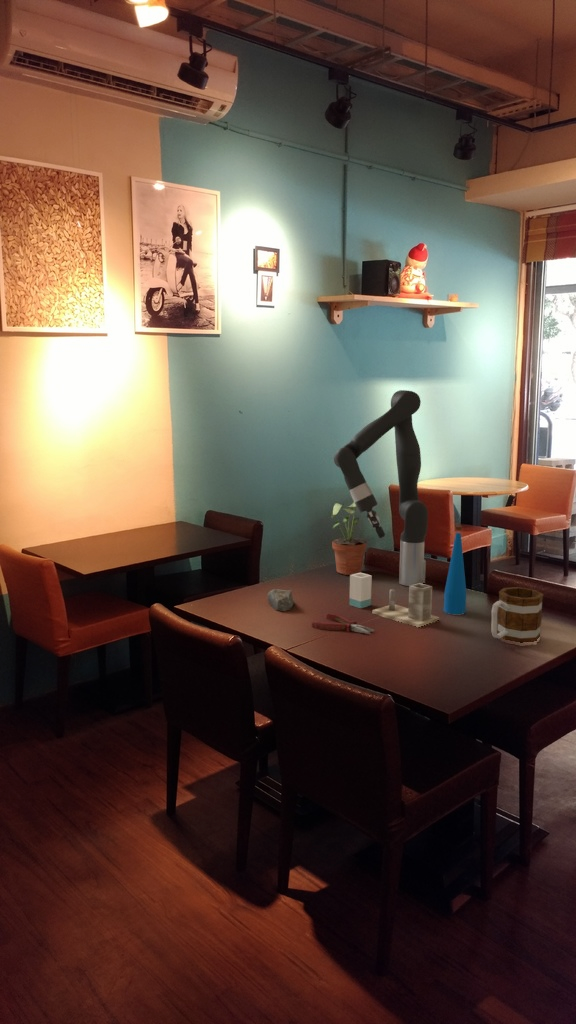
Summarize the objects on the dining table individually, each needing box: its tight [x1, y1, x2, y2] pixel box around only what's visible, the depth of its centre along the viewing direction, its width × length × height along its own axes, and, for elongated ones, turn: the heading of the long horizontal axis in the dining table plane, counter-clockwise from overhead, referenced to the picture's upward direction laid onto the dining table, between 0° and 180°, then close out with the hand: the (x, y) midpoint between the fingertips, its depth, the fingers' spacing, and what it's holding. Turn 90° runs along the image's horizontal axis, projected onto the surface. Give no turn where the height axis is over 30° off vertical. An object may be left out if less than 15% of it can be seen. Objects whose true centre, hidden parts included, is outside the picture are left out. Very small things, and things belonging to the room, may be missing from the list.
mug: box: [490, 586, 545, 643], centre depth 243 cm, size 20×14×15 cm
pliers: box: [311, 613, 376, 635], centre depth 255 cm, size 12×20×3 cm, turn 55°
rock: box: [266, 588, 295, 612], centre depth 278 cm, size 13×9×6 cm, turn 19°
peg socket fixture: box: [371, 583, 440, 628], centre depth 265 cm, size 20×11×12 cm, turn 43°
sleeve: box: [348, 572, 373, 609], centre depth 278 cm, size 5×5×11 cm
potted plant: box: [329, 501, 368, 576], centre depth 320 cm, size 16×15×35 cm
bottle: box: [443, 525, 467, 614], centre depth 270 cm, size 7×7×30 cm
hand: (382, 536), depth 290 cm, fingers open, 8 cm apart
